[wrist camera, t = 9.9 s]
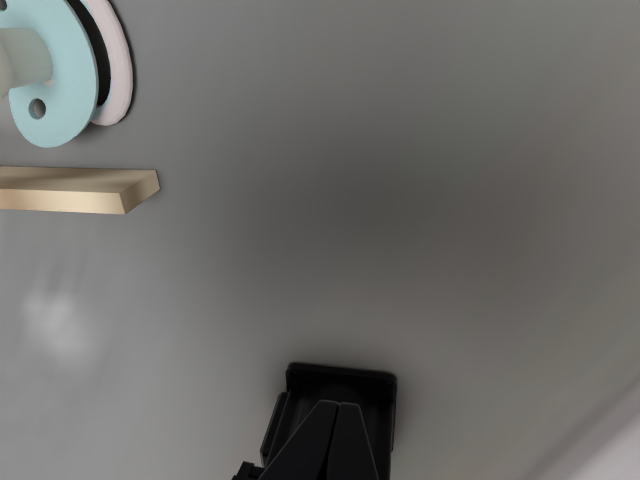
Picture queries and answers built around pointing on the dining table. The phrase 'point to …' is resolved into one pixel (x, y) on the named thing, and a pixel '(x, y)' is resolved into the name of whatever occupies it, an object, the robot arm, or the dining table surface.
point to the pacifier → (60, 68)
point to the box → (75, 189)
